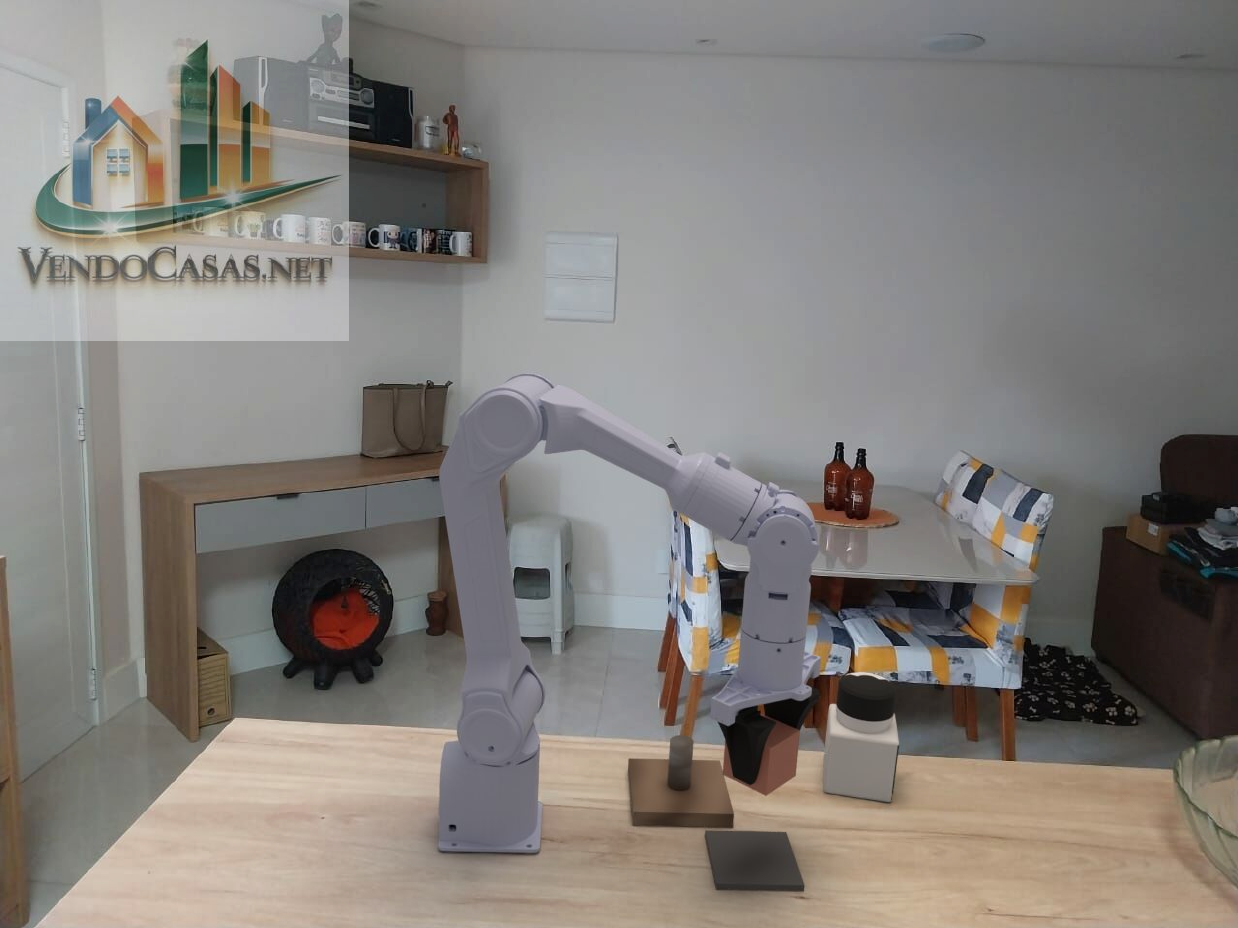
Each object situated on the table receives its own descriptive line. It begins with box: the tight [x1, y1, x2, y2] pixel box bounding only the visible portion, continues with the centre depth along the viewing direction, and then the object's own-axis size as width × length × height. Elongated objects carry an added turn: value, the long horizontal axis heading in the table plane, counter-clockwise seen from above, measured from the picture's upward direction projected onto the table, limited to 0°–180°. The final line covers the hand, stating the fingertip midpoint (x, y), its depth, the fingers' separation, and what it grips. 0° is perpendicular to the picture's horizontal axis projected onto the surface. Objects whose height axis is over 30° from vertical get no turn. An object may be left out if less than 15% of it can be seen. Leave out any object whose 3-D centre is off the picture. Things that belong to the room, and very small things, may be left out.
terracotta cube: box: [722, 713, 801, 797], centre depth 89 cm, size 5×5×5 cm
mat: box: [704, 829, 805, 892], centre depth 91 cm, size 8×8×1 cm
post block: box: [627, 734, 735, 828], centre depth 100 cm, size 10×10×6 cm
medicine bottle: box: [823, 671, 900, 803], centre depth 105 cm, size 7×7×12 cm
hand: (760, 768), depth 89 cm, fingers closed on terracotta cube, 5 cm apart
